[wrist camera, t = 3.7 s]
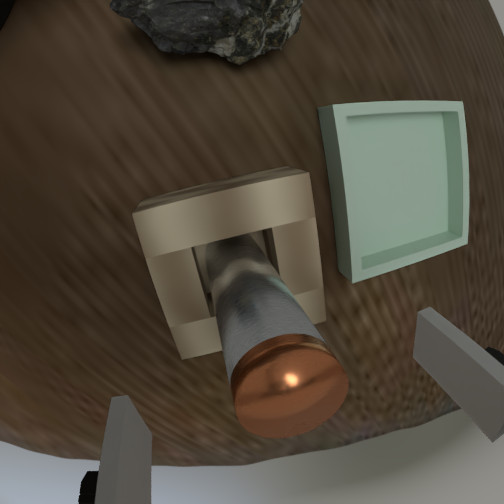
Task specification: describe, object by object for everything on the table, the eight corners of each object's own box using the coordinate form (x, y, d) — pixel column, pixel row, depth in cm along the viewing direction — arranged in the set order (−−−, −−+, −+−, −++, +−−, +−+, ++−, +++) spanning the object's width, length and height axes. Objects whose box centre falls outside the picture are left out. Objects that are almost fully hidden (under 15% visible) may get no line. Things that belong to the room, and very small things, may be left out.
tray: (338, 270, 30) (352, 283, 27) (317, 107, 24) (332, 104, 22) (449, 235, 32) (467, 243, 29) (443, 102, 26) (462, 101, 23)
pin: (212, 285, 27) (248, 448, 12) (199, 236, 25) (223, 378, 10) (262, 272, 27) (348, 417, 12) (253, 223, 26) (348, 340, 10)
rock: (269, -63, 16) (280, -94, 9) (319, 25, 22) (354, 38, 15) (142, 1, 20) (93, 6, 13) (196, 81, 26) (174, 119, 19)
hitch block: (181, 326, 29) (182, 359, 24) (142, 200, 24) (131, 213, 20) (305, 293, 30) (326, 320, 25) (287, 166, 26) (309, 172, 21)
